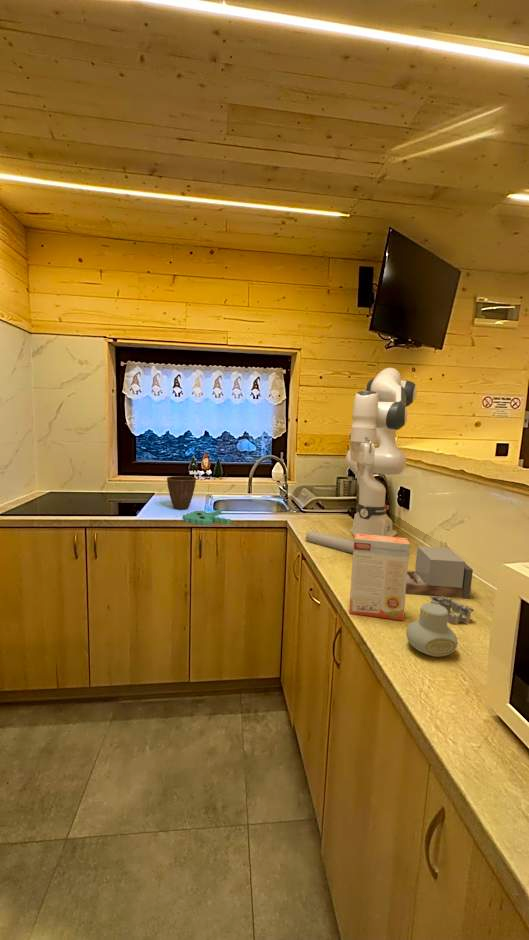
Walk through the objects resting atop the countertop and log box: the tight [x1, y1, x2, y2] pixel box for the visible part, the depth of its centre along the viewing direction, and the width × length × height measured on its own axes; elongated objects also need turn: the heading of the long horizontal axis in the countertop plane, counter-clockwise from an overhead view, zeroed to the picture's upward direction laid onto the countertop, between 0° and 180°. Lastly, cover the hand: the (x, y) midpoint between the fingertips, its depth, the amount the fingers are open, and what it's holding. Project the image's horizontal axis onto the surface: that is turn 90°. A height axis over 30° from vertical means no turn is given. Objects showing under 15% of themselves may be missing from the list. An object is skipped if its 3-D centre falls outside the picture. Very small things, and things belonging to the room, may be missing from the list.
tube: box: [305, 529, 354, 555], centre depth 170 cm, size 5×5×25 cm
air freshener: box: [405, 602, 458, 658], centre depth 97 cm, size 11×8×10 cm
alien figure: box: [182, 509, 232, 526], centre depth 204 cm, size 20×2×20 cm
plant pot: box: [166, 475, 197, 511], centre depth 222 cm, size 15×15×16 cm
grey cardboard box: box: [414, 545, 466, 588], centre depth 133 cm, size 10×13×8 cm
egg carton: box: [429, 595, 475, 625], centre depth 116 cm, size 11×8×4 cm
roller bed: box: [405, 562, 474, 600], centre depth 133 cm, size 22×13×9 cm, turn 87°
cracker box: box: [348, 533, 411, 621], centre depth 113 cm, size 14×6×21 cm, turn 77°
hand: (360, 475), depth 153 cm, fingers closed
